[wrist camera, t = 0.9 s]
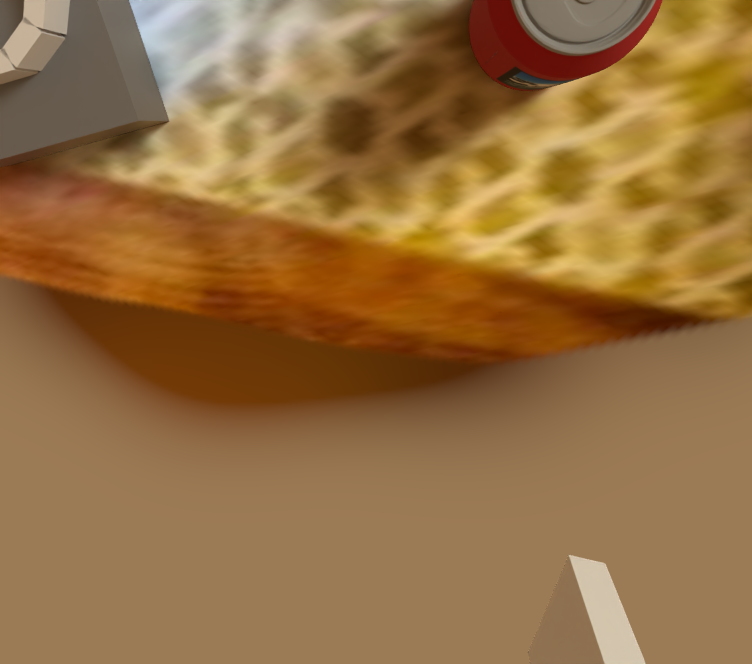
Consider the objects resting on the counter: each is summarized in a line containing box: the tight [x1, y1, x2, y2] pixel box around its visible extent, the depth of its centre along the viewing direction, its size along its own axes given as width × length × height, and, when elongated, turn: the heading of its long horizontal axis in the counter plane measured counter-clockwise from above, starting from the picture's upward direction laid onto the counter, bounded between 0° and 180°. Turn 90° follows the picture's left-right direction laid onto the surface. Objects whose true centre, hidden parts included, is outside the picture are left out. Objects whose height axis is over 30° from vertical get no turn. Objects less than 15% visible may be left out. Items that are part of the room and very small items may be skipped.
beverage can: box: [469, 0, 662, 91], centre depth 26 cm, size 7×7×12 cm
